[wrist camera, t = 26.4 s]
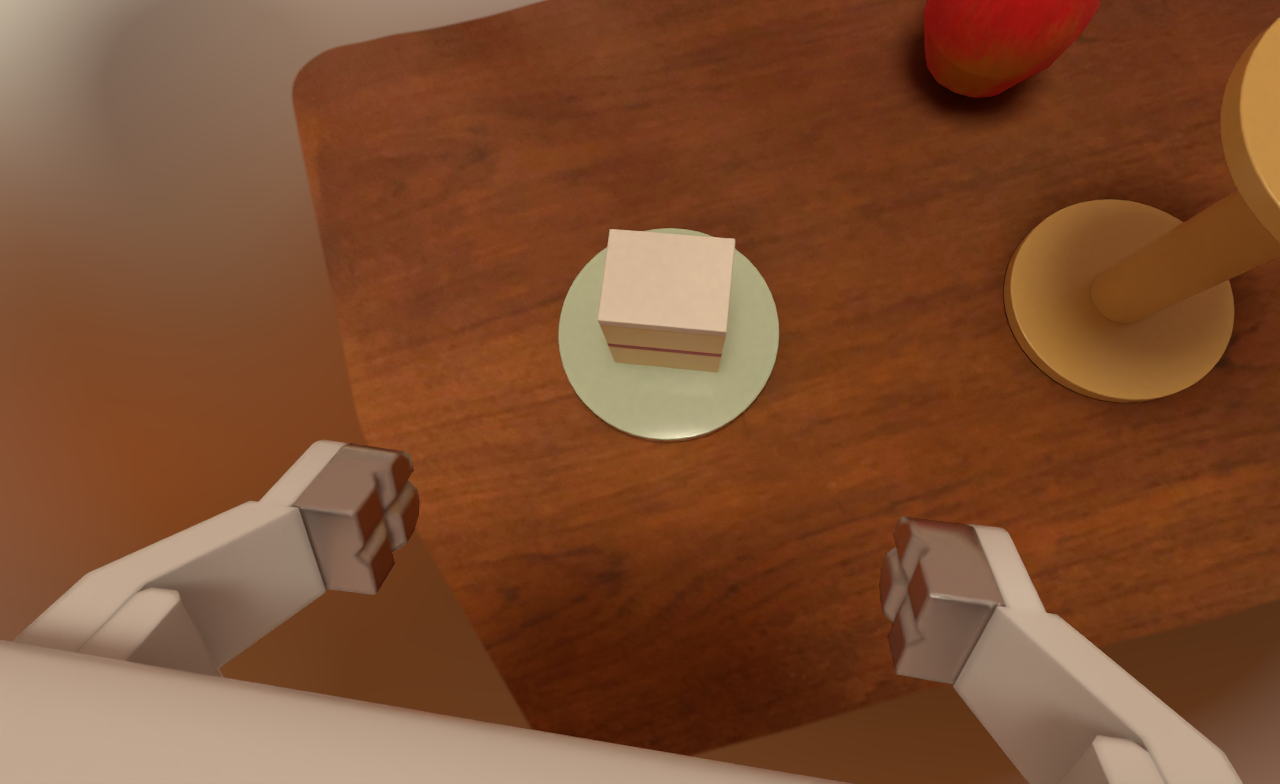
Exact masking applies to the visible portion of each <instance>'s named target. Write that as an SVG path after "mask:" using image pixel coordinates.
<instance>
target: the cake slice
mask: <svg viewBox="0 0 1280 784" xmlns="http://www.w3.org/2000/svg"><path fill="white" fill-rule="evenodd" d="M734 250H735V239H729V238H716V237H704V236H691V235H679V234H666V233H653V232H641V231H628V230H616V229H610V231H609V238H608V246H607V253H606V260H605V268H604V275H603V282H602V289H601V297H600V304H599V311H598V319H597V320H598V322H599V325H600V327H601V329H602V331H603V334H604V336H605V339H606V341H607V344H608V347H609V349H610V351H611V354H612V356H613V359H614V361H615V362H617V363H627V364H637V365H647V366H658V367H668V368H678V369H688V370H698V371H709V372H718V371H719V366H720V361H721V356H722V351H723V347H724V342H725V337H726V333H727V324H728V314H729V303H730V293H731V282H732V272H733V261H734Z"/></svg>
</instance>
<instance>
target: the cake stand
mask: <svg viewBox="0 0 1280 784" xmlns="http://www.w3.org/2000/svg"><path fill="white" fill-rule="evenodd" d="M1220 128H1221V141H1222V146H1223V151H1224V155H1225V159H1226V163H1227V166H1228V168H1229V171H1230V174H1231V176H1232V179H1233V181H1234V184H1235V185H1236V187H1237V190H1236V191H1234V192H1232V193H1231V194H1229V195H1227V196H1226V197H1224V198H1223V199H1221V200H1219V201H1218V202H1216V203H1214V204H1213V205H1211V206H1210V207H1208V208H1206V209H1205V210H1203V211H1201V212H1200V213H1198V214H1197V215H1195V216H1193V217H1192V218H1190V219H1188V220H1187V221H1185V222H1182V221H1180V220H1179V219H1177V218H1175V217H1173V216H1171V215H1170V214H1168V213H1166V212H1164V211H1161V210H1159V209H1156V208H1154V207H1151V206H1148V205H1144V204H1141V203H1137V202H1132V201H1126V200H1113V199H1106V200H1093V201H1087V202H1082V203H1078V204H1075V205H1071V206H1068V207H1066V208H1064V209H1062V210H1059V211H1057V212H1055V213H1054V214H1052V215H1051V216H1049V217H1047V218H1046V219H1045V220H1043V221H1042V222H1041V223H1040V224H1038V225H1037V226H1036V227H1035V228H1034V229H1033V230H1031V231H1030V232H1029V233H1028V234H1027V235H1026V237H1025V238H1024V239H1023V240H1022V241H1021V242H1020V244H1019V245H1018V247H1017V248H1016V250H1015V251H1014V253H1013V256H1012V258H1011V260H1010V262H1009V265H1008V268H1007V271H1006V276H1005V283H1004V303H1005V310H1006V314H1007V318H1008V321H1009V325H1010V327H1011V329H1012V332H1013V334H1014V336H1015V338H1016V340H1017V341H1018V343H1019V345H1020V346H1021V348H1022V349H1023V351H1024V352H1025V353H1026V354H1027V356H1028V357H1029V358H1030V360H1031V361H1032V362H1033V363H1034V364H1035V365H1036V366H1037V367H1038V368H1039V369H1040V370H1042V371H1043V372H1044V373H1045V374H1047V375H1048V376H1049V377H1050V378H1052V379H1053V380H1055V381H1056V382H1058V383H1060V384H1061V385H1063V386H1064V387H1066V388H1068V389H1071V390H1073V391H1075V392H1077V393H1079V394H1082V395H1085V396H1088V397H1091V398H1094V399H1099V400H1104V401H1109V402H1120V403H1131V402H1143V401H1149V400H1154V399H1157V398H1161V397H1165V396H1168V395H1171V394H1175V393H1177V392H1179V391H1182V390H1184V389H1186V388H1188V387H1190V386H1191V385H1193V384H1194V383H1196V382H1198V381H1199V380H1200V379H1202V378H1203V377H1204V376H1205V375H1206V374H1207V373H1209V372H1210V371H1211V369H1212V368H1213V367H1214V366H1215V365H1216V363H1217V362H1218V361H1219V360H1220V358H1221V356H1222V355H1223V353H1224V351H1225V350H1226V348H1227V345H1228V343H1229V340H1230V338H1231V334H1232V329H1233V325H1234V312H1235V310H1234V298H1233V293H1232V289H1231V285H1230V282H1229V279H1231V278H1234V277H1236V276H1238V275H1240V274H1242V273H1245V272H1247V271H1249V270H1251V269H1253V268H1255V267H1258V266H1260V265H1262V264H1264V263H1266V262H1269V261H1271V260H1273V259H1275V258H1277V257H1279V256H1280V17H1279V18H1278V19H1277V20H1276V21H1274V22H1273V23H1272V24H1271V25H1270V26H1269V27H1267V28H1266V29H1265V30H1264V31H1263V32H1262V33H1260V34H1259V35H1258V36H1257V37H1256V38H1255V40H1254V41H1253V42H1252V43H1251V44H1250V45H1249V46H1248V47H1247V48H1246V50H1245V51H1244V52H1243V54H1242V55H1241V57H1240V59H1239V60H1238V62H1237V63H1236V65H1235V66H1234V69H1233V71H1232V73H1231V75H1230V78H1229V80H1228V82H1227V85H1226V88H1225V92H1224V96H1223V100H1222V106H1221V118H1220Z"/></svg>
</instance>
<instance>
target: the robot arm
mask: <svg viewBox="0 0 1280 784" xmlns="http://www.w3.org/2000/svg"><path fill="white" fill-rule="evenodd" d="M413 471H414V470H413V465H412V461H411V457H410V455H409V454H407V453H406V452H404V451H397V450H391V449H385V448H378V447H372V446H365V445H358V444H352V443H350V444H347V443H342V442H335V441H329V440H320V441H317V442H315V443H313V444H312V445H311V446H310V447H309V448H308V450H307V451H306V452H305V453H304V454H303V455H302V456H301V457H300V458H299V459H298V460H297V461H296V462H295V463H294V465H293V466H292V467H291V468H290V469H289V470H288V471H287V472H286V473H285V474H284V475H283V476H282V478H280V480H279V481H278V482H277V483H276V484H275V485H274V486H273V487H272V488H271V489H270V490H269V491H268V492H267V493H266V495H265V496H264V497H263V498H262V499H261V500H260V501H259V502H255V501H248V502H246V503H244V504H242V505H239V506H237V507H235V508H233V509H230V510H228V511H226V512H224V513H221V514H219V515H217V516H215V517H213V518H210V519H208V520H206V521H204V522H201V523H199V524H197V525H195V526H192V527H190V528H188V529H186V530H183V531H181V532H179V533H177V534H175V535H172V536H170V537H168V538H166V539H163V540H161V541H159V542H157V543H155V544H152V545H150V546H148V547H146V548H143V549H141V550H139V551H137V552H134V553H132V554H130V555H128V556H125V557H123V558H121V559H119V560H116V561H114V562H112V563H110V564H107V565H105V566H103V567H101V568H98V569H96V570H94V571H92V572H89V573H87V574H86V575H85V576H84V577H82V578H81V579H80V580H79V581H78V582H77V583H76V584H75V585H74V586H72V587H71V588H70V589H69V590H68V591H67V592H66V593H65V594H63V595H62V597H60V598H59V599H58V600H57V601H56V602H55V603H54V604H53V605H51V606H50V607H49V608H48V609H47V610H46V611H45V612H44V613H42V614H41V615H40V616H39V617H38V618H37V619H36V620H35V621H34V622H33V623H31V624H30V625H29V626H28V627H27V628H26V629H25V630H24V631H23V632H22V633H20V634H19V635H18V636H17V637H16V638H15V639H14V640H13V641H12V642H10V641H4V640H0V784H854V783H848V782H842V781H836V780H830V779H824V778H818V777H812V776H805V775H800V774H794V773H788V772H782V771H776V770H770V769H764V768H758V767H752V766H746V765H740V764H734V763H728V762H722V761H716V760H710V759H704V758H698V757H692V756H686V755H680V754H674V753H668V752H662V751H656V750H650V749H644V748H638V747H633V746H627V745H621V744H615V743H609V742H603V741H597V740H591V739H585V738H579V737H573V736H567V735H562V734H556V733H550V732H544V731H538V730H532V729H526V728H520V727H514V726H508V725H503V724H496V723H491V722H484V721H479V720H473V719H467V718H461V717H455V716H449V715H443V714H438V713H431V712H426V711H420V710H413V709H408V708H401V707H396V706H390V705H383V704H378V703H372V702H366V701H360V700H354V699H348V698H342V697H337V696H331V695H324V694H319V693H313V692H306V691H300V690H295V689H289V688H282V687H277V686H271V685H265V684H259V683H254V682H247V681H242V680H236V679H230V678H224V677H223V675H222V673H221V671H220V669H219V668H220V667H221V666H223V665H224V664H226V663H227V662H228V661H230V660H231V659H232V658H234V657H235V656H237V655H238V654H239V653H241V652H242V651H244V650H245V649H247V648H248V647H249V646H251V645H252V644H254V643H255V642H256V641H258V640H259V639H261V638H262V637H263V636H265V635H266V634H267V633H269V632H270V631H272V630H273V629H275V628H276V627H277V626H279V625H280V624H282V623H283V622H284V621H286V620H287V619H289V618H290V617H291V616H293V615H294V614H296V613H297V612H298V611H300V610H301V609H303V608H304V607H305V606H307V605H308V604H310V603H311V602H312V601H314V600H315V599H317V598H318V597H319V596H321V595H322V594H323V593H325V592H326V589H333V590H340V591H348V592H357V593H365V594H373V595H376V594H377V592H378V591H379V589H380V587H381V586H382V584H383V582H384V581H385V579H386V577H387V576H388V574H389V572H390V571H391V569H392V567H393V566H394V564H395V563H394V558H393V554H392V552H393V551H395V550H397V549H398V548H400V547H402V546H403V545H405V544H407V542H408V540H409V539H410V537H411V535H412V533H413V532H414V530H415V526H416V523H417V519H418V516H419V496H418V490H417V489H416V488H415V487H414V486H413V485H412V484H411V483H410V482H409V481H408V478H409V477H410V475H411V474H412V472H413ZM893 535H894V539H895V543H896V548H894V549H893V550H891V551H889V552H888V553H886V555H885V558H884V561H883V564H882V567H881V574H880V583H879V590H880V601H881V606H882V611H883V613H884V614H885V615H886V616H887V617H888V618H889V619H890V620H891V621H892V623H893V624H892V627H891V629H890V632H889V634H888V640H889V645H890V649H891V654H892V658H893V663H894V667H895V672H896V674H898V675H904V676H909V677H915V678H921V679H926V680H932V681H937V682H943V683H948V684H954V686H953V688H954V689H955V690H956V691H957V693H958V694H959V695H960V697H961V698H962V699H963V700H964V702H965V703H966V704H967V706H968V707H969V708H970V709H971V711H972V712H973V713H974V714H975V715H976V717H977V718H978V719H979V721H980V722H981V723H982V725H983V726H984V727H985V728H986V730H987V731H988V732H989V734H990V735H991V736H992V737H993V739H994V740H995V741H996V742H997V744H998V745H999V746H1000V748H1001V749H1002V750H1003V751H1004V753H1005V754H1006V755H1007V756H1008V758H1009V759H1010V760H1011V762H1012V763H1013V764H1014V765H1015V767H1016V768H1017V769H1018V770H1019V772H1020V773H1021V774H1022V775H1023V777H1024V778H1025V779H1026V781H1027V782H1028V783H1029V784H1243V783H1242V781H1241V779H1240V778H1239V776H1238V774H1237V773H1236V771H1235V769H1234V768H1233V766H1232V765H1231V763H1230V761H1229V760H1228V758H1227V756H1226V755H1225V753H1224V752H1223V751H1222V750H1221V749H1219V748H1218V747H1217V746H1216V745H1215V744H1213V743H1212V742H1211V741H1209V740H1208V739H1207V738H1206V737H1205V736H1204V735H1202V734H1201V733H1200V732H1199V731H1198V730H1196V729H1195V728H1194V727H1193V726H1191V725H1190V724H1189V723H1188V722H1187V721H1185V720H1184V719H1183V718H1182V717H1181V716H1179V715H1178V714H1177V713H1176V712H1174V711H1173V710H1172V709H1171V708H1170V707H1169V706H1167V705H1166V704H1165V703H1163V702H1162V701H1161V700H1160V699H1159V698H1158V697H1156V696H1155V695H1154V694H1153V693H1152V692H1150V691H1149V690H1148V689H1147V688H1145V687H1144V686H1143V685H1142V684H1141V683H1139V682H1138V681H1137V680H1136V679H1135V678H1133V677H1132V676H1131V675H1129V673H1127V672H1126V671H1125V670H1124V669H1122V668H1121V667H1120V666H1119V665H1117V664H1116V663H1115V662H1114V661H1113V660H1112V659H1110V658H1109V657H1108V656H1107V655H1106V654H1104V653H1103V652H1102V651H1101V650H1099V649H1098V648H1097V647H1096V646H1095V645H1093V644H1092V643H1091V642H1090V641H1089V640H1087V639H1086V638H1085V637H1084V636H1082V635H1081V634H1080V633H1079V632H1078V631H1076V630H1075V629H1074V628H1073V627H1072V626H1070V625H1069V624H1068V623H1067V622H1066V621H1064V620H1063V619H1062V618H1061V617H1059V616H1058V615H1057V614H1050V613H1046V611H1045V608H1044V606H1043V604H1042V602H1041V600H1040V598H1039V596H1038V594H1037V592H1036V590H1035V587H1034V585H1033V583H1032V581H1031V579H1030V577H1029V575H1028V573H1027V571H1026V569H1025V566H1024V564H1023V562H1022V560H1021V558H1020V556H1019V554H1018V552H1017V550H1016V548H1015V545H1014V543H1013V541H1012V539H1011V537H1010V535H1009V533H1008V532H1007V531H1006V530H1005V529H1003V528H999V527H991V526H982V525H973V524H968V525H966V524H960V523H952V522H944V521H936V520H928V519H920V518H912V517H902V518H901V519H900V520H899V521H898V523H897V526H896V528H895V531H894V533H893Z"/></svg>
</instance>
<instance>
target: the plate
mask: <svg viewBox="0 0 1280 784" xmlns="http://www.w3.org/2000/svg"><path fill="white" fill-rule="evenodd" d="M643 232H653V233H666V234H679V235H691V236H704V237H713V236H710V235H707V234H704V233H701V232H697V231H692V230H687V229H675V228H666V229H654V230H648V231H643ZM606 253H607V247H606V248H605V249H604V250H602V251H601V252H600V253H599V254H597V255H596V256H595V257H594V258H593V259H592V260H591V261H590V262H589V263H588V264H587V265H586V266H585V267H584V268H583V269H582V271H581V272H580V273H579V274H578V276H577V277H576V279H575V280H574V282H573V284H572V285H571V287H570V289H569V291H568V294H567V296H566V298H565V301H564V304H563V307H562V311H561V314H560V321H559V340H558V342H559V349H560V356H561V360H562V364H563V367H564V370H565V372H566V375H567V377H568V380H569V382H570V383H571V385H572V387H573V388H574V390H575V392H576V393H577V395H578V396H579V397H580V399H581V400H582V401H583V402H584V404H585V405H586V406H587V407H588V408H589V409H590V410H591V411H592V412H593V413H594V414H595V415H596V416H597V417H598V418H600V419H601V420H602V421H604V422H605V423H606V424H608V425H609V426H611V427H613V428H615V429H617V430H618V431H620V432H622V433H625V434H628V435H630V436H633V437H636V438H640V439H644V440H648V441H657V442H680V441H687V440H693V439H696V438H700V437H703V436H706V435H709V434H711V433H713V432H716V431H718V430H720V429H722V428H723V427H725V426H727V425H728V424H730V423H731V422H733V421H734V420H735V419H737V418H738V417H739V416H740V415H742V414H743V413H744V412H745V411H746V410H747V409H748V408H749V407H750V406H751V405H752V403H753V402H754V401H755V400H756V398H757V397H758V395H759V394H760V393H761V391H762V390H763V388H764V386H765V384H766V382H767V380H768V378H769V376H770V375H771V372H772V369H773V366H774V363H775V360H776V356H777V351H778V345H779V321H778V315H777V310H776V305H775V303H774V300H773V297H772V294H771V292H770V290H769V288H768V286H767V284H766V282H765V280H764V279H763V277H762V276H761V274H760V273H759V272H758V270H757V269H756V268H755V267H754V265H753V264H752V263H751V262H750V261H749V260H748V259H747V258H746V257H745V256H743V255H742V254H741V253H740V252H739V251H737V250H736V249H735V250H734V261H733V272H732V282H731V293H730V303H729V314H728V324H727V333H726V337H725V342H724V347H723V351H722V356H721V361H720V366H719V371H718V372H709V371H698V370H688V369H678V368H668V367H658V366H647V365H637V364H627V363H617V362H615V361H614V359H613V356H612V354H611V351H610V349H609V347H608V344H607V341H606V339H605V336H604V334H603V331H602V329H601V327H600V325H599V322H598V320H597V319H598V311H599V304H600V297H601V289H602V282H603V275H604V268H605V260H606Z"/></svg>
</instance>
